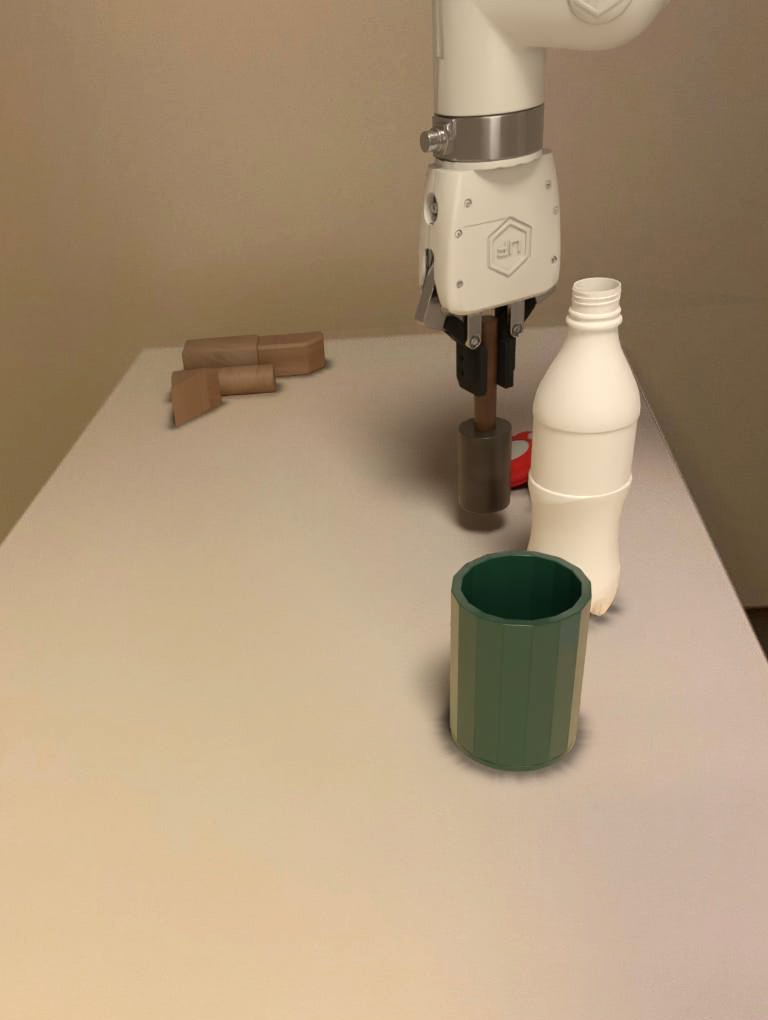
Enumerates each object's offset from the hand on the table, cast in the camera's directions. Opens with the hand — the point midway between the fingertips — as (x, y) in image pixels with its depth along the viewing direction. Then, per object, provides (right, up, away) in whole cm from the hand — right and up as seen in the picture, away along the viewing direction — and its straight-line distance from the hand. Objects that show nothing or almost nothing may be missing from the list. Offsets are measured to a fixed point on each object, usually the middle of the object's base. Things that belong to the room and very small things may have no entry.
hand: (485, 385), depth 80 cm
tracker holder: (+7, -6, +15) cm, 17 cm away
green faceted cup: (-1, -27, -13) cm, 30 cm away
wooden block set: (-20, +8, +38) cm, 44 cm away
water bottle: (+6, -18, -2) cm, 19 cm away
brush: (+1, -8, +6) cm, 11 cm away
